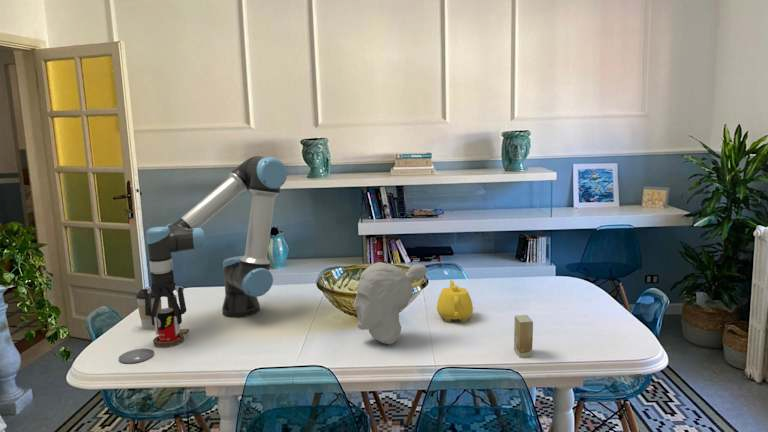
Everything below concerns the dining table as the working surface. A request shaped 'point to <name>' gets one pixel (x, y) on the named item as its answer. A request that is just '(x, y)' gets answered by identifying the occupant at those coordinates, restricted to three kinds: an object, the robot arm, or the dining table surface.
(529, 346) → the skincare box
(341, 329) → the dining table surface
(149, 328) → the coffee cup
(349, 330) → the dining table surface
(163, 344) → the ring holder
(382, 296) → the bust
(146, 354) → the slate coaster
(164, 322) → the beverage can
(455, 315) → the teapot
